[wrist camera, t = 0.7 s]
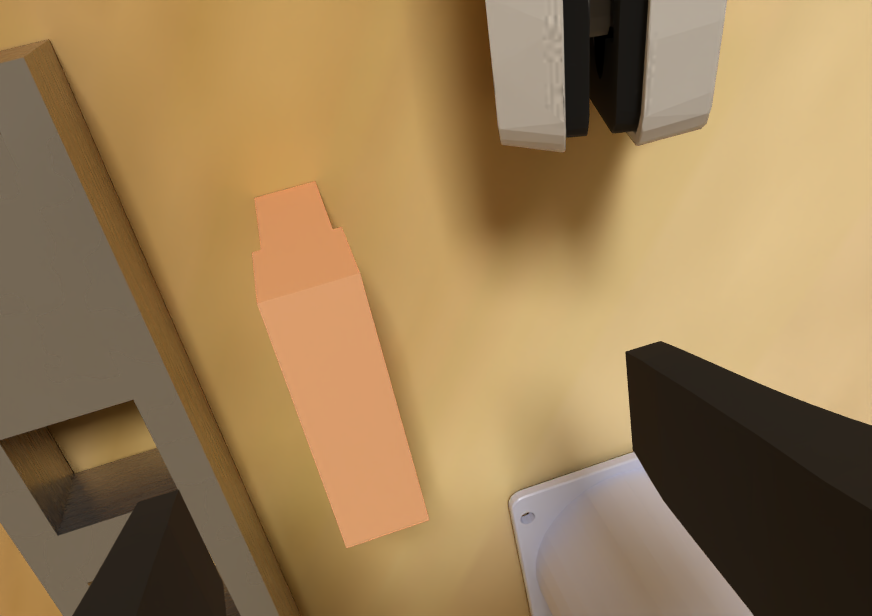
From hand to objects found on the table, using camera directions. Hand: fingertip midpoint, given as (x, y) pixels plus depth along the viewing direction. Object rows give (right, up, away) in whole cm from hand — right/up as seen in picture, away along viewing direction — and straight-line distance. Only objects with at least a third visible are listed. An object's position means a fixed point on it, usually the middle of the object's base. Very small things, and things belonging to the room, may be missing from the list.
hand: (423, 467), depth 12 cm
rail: (-8, -3, +10) cm, 13 cm away
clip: (-3, +3, +9) cm, 10 cm away
